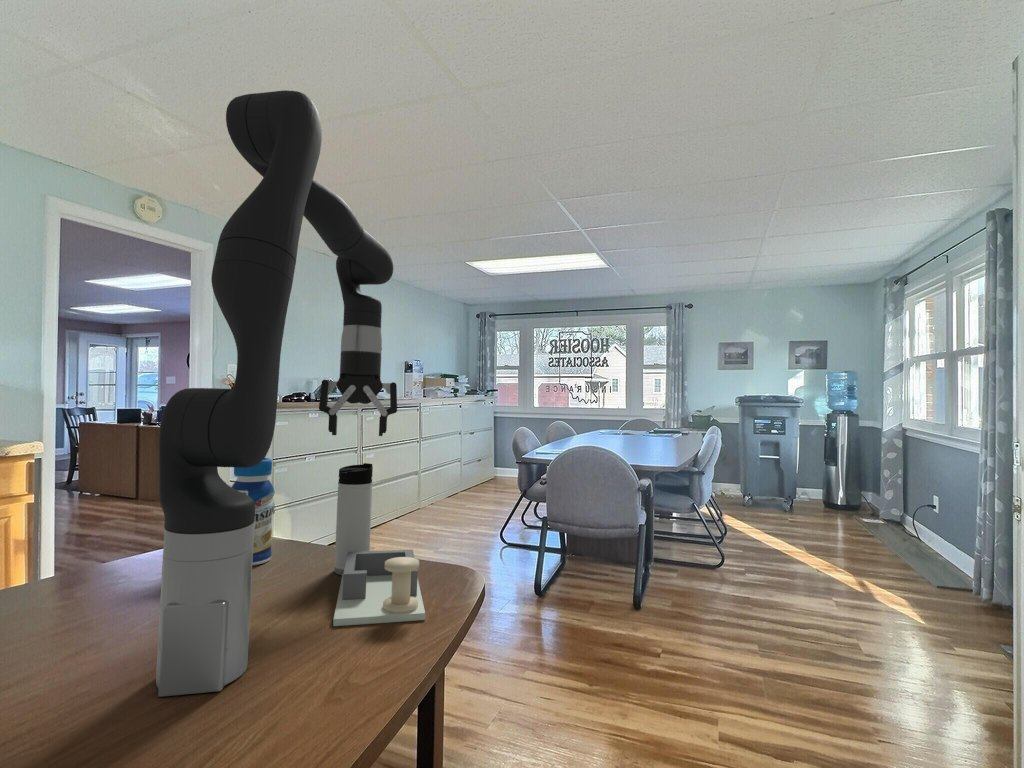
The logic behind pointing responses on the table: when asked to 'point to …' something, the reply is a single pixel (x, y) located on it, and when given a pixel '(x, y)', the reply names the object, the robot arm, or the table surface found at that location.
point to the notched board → (379, 589)
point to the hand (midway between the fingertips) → (357, 435)
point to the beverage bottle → (259, 505)
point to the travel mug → (353, 512)
